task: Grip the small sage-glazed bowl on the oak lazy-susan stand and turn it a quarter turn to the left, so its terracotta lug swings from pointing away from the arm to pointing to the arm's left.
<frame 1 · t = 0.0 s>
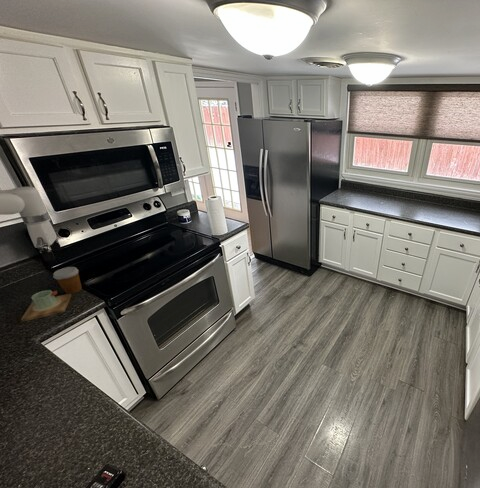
hand: (53, 255, 113), 28 cm above the worktop, tool pointing down, fingers open, 9 cm apart
disposable coffee cup: (74, 291, 137), on the worktop
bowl: (44, 299, 123), point 5 cm above the worktop, hinge at 0.0°
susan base: (48, 308, 125), on the worktop
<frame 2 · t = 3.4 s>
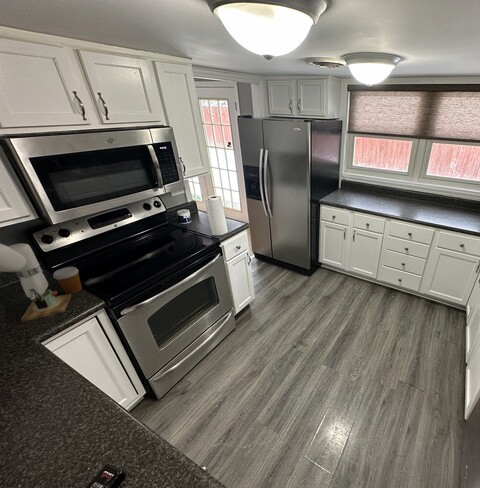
hand: (46, 303, 123), 3 cm above the worktop, tool pointing down, fingers closed on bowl, 6 cm apart
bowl: (44, 299, 123), point 5 cm above the worktop, hinge at 0.0°, touching gripper
everything else where it was.
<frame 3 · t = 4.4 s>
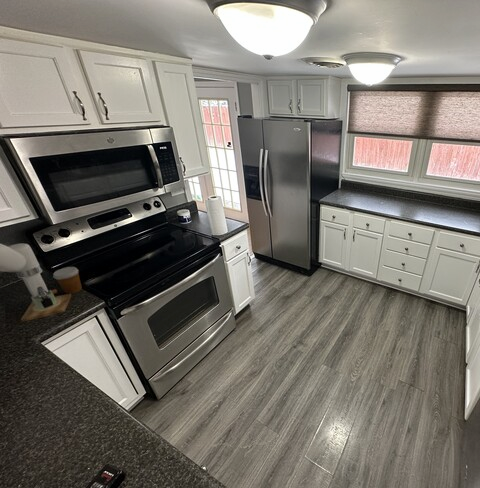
hand: (46, 303, 123), 3 cm above the worktop, tool pointing down, fingers closed on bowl, 7 cm apart
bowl: (44, 299, 123), point 5 cm above the worktop, hinge at 25.4°, touching gripper
everything else where it was.
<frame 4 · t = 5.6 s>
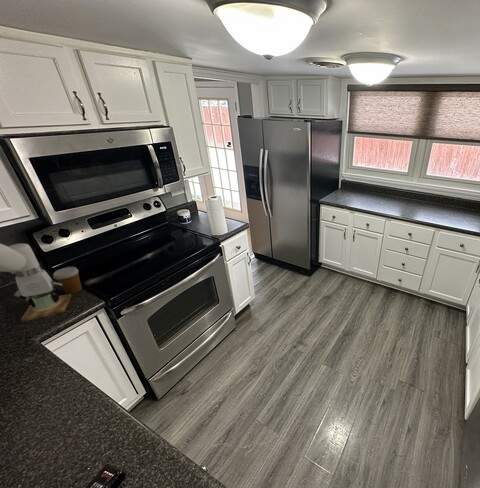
hand: (46, 302, 123), 3 cm above the worktop, tool pointing down, fingers closed on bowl, 6 cm apart
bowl: (44, 299, 123), point 5 cm above the worktop, hinge at 89.0°, touching gripper
everything else where it was.
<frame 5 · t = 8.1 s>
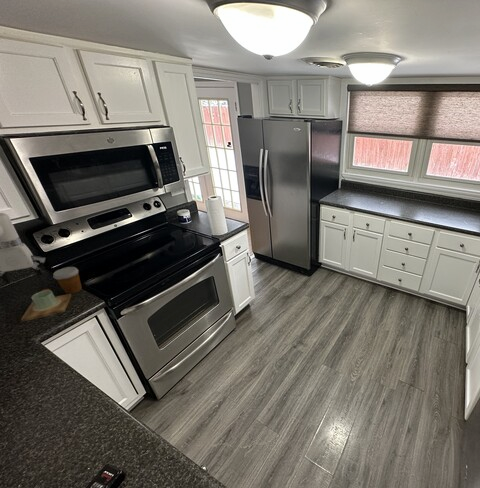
hand: (25, 279, 115), 18 cm above the worktop, tool pointing down, fingers open, 9 cm apart
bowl: (44, 299, 123), point 5 cm above the worktop, hinge at 89.2°
everything else where it was.
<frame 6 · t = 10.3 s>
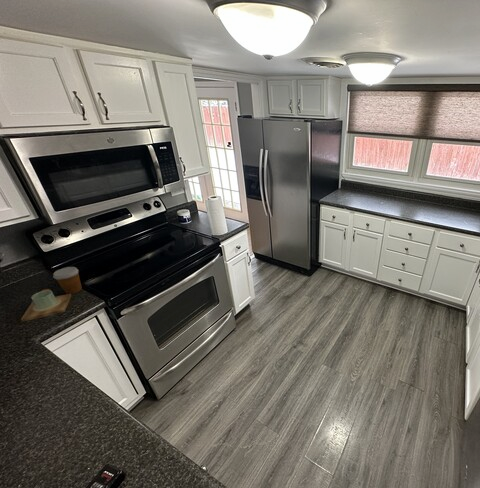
nothing on the worktop moved.
at the end: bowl at +89° (first picture: +0°); the gripper is holding nothing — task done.
